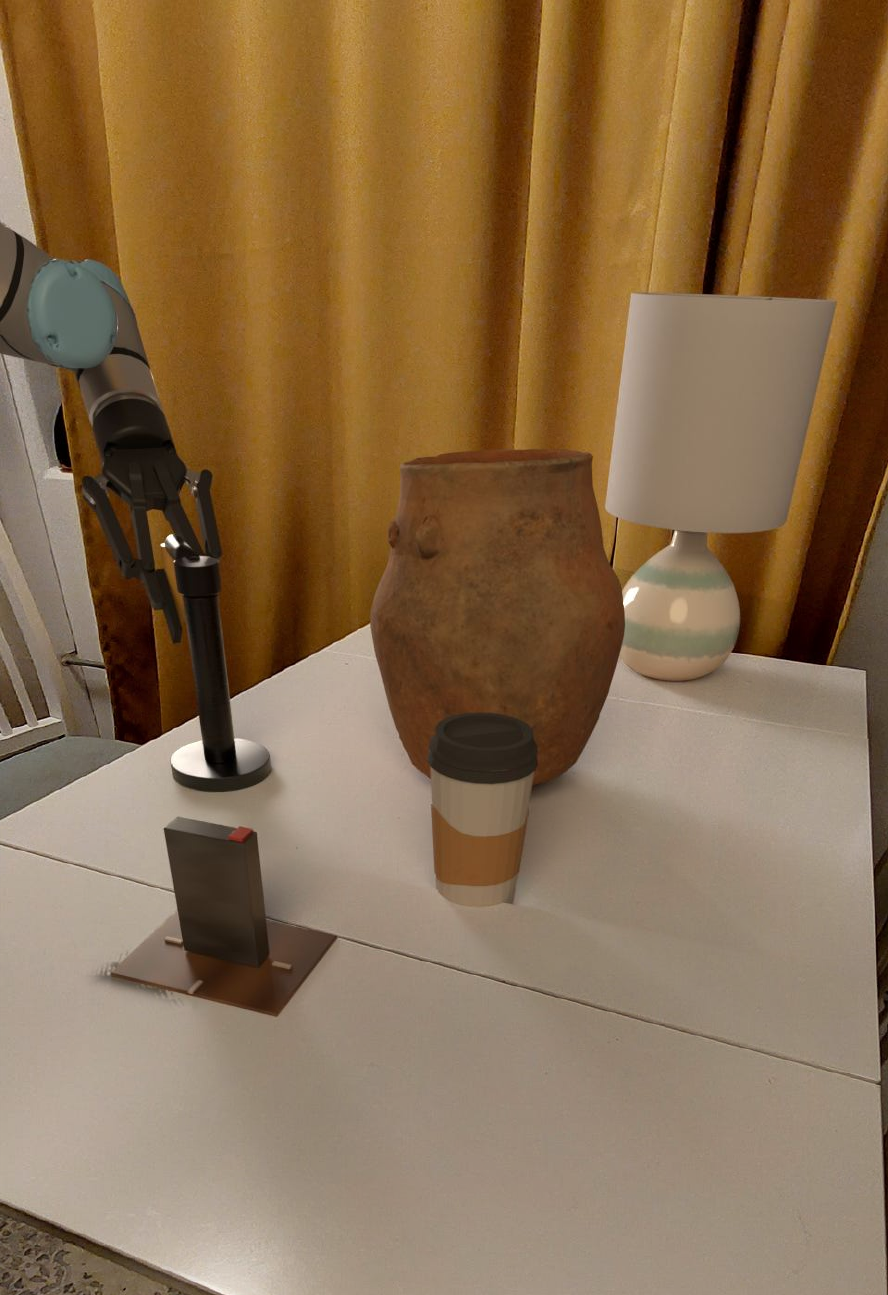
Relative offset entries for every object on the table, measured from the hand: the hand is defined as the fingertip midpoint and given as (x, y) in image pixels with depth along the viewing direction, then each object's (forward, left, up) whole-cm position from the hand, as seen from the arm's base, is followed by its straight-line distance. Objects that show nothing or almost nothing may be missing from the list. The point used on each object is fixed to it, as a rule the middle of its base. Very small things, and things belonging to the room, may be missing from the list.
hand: (194, 634), depth 95 cm
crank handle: (+1, -1, +1) cm, 2 cm away
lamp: (+43, +45, -12) cm, 64 cm away
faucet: (+4, -5, -12) cm, 14 cm away
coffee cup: (+36, -20, -12) cm, 43 cm away
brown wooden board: (+22, -36, -12) cm, 44 cm away
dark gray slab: (+22, -36, -10) cm, 44 cm away
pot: (+30, +5, -12) cm, 33 cm away
